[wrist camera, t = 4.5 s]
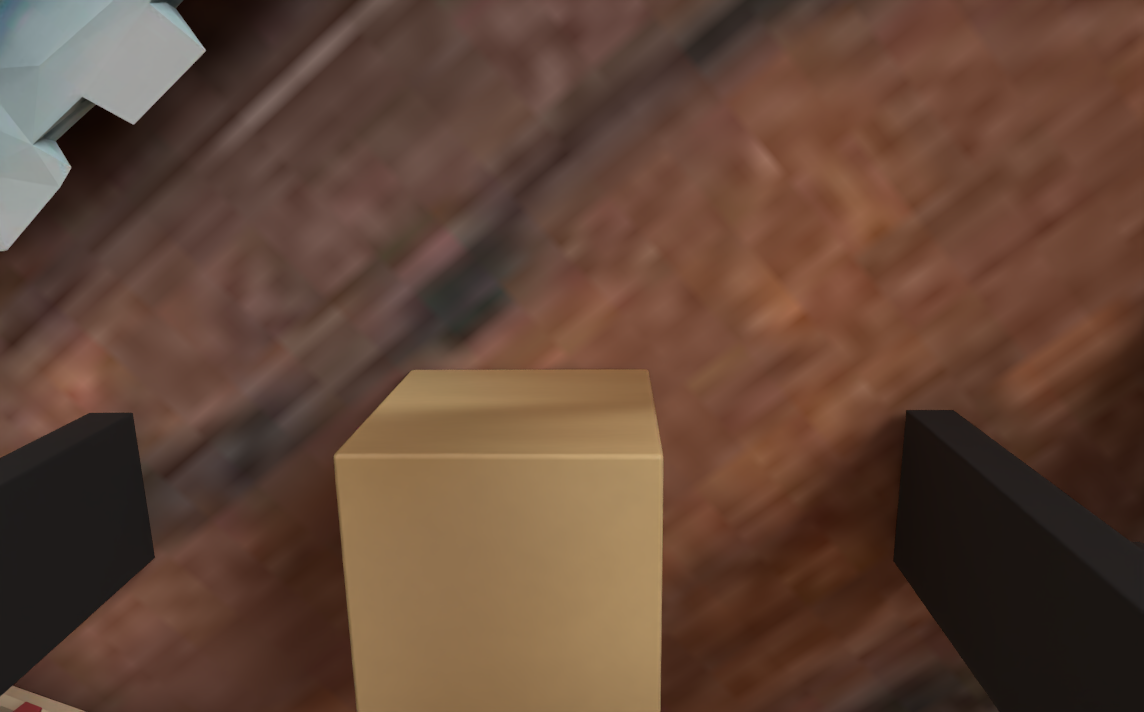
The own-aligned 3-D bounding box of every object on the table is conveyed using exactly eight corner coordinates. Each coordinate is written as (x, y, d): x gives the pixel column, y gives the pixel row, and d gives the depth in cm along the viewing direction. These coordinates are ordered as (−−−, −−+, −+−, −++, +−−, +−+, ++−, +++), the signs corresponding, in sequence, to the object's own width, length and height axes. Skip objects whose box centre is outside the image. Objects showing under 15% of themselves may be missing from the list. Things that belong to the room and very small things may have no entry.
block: (649, 368, 14) (664, 454, 10) (648, 585, 14) (660, 744, 11) (410, 369, 14) (331, 454, 10) (424, 583, 15) (357, 738, 11)
